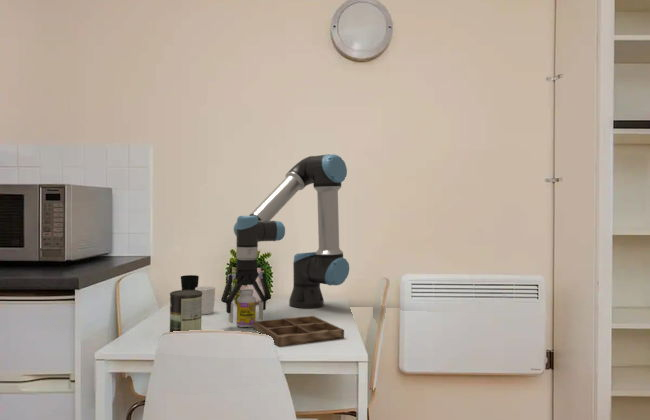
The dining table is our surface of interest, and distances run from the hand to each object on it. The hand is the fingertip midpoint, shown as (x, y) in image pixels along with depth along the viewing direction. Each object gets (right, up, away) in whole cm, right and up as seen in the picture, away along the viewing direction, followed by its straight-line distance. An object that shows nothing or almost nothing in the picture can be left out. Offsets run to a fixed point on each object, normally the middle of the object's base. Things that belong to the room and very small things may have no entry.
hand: (246, 320), depth 176 cm
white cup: (-20, -2, +21) cm, 29 cm away
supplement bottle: (0, -2, 0) cm, 2 cm away
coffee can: (-18, -2, -14) cm, 22 cm away
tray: (+19, -2, -10) cm, 22 cm away
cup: (-31, -2, +39) cm, 50 cm away
